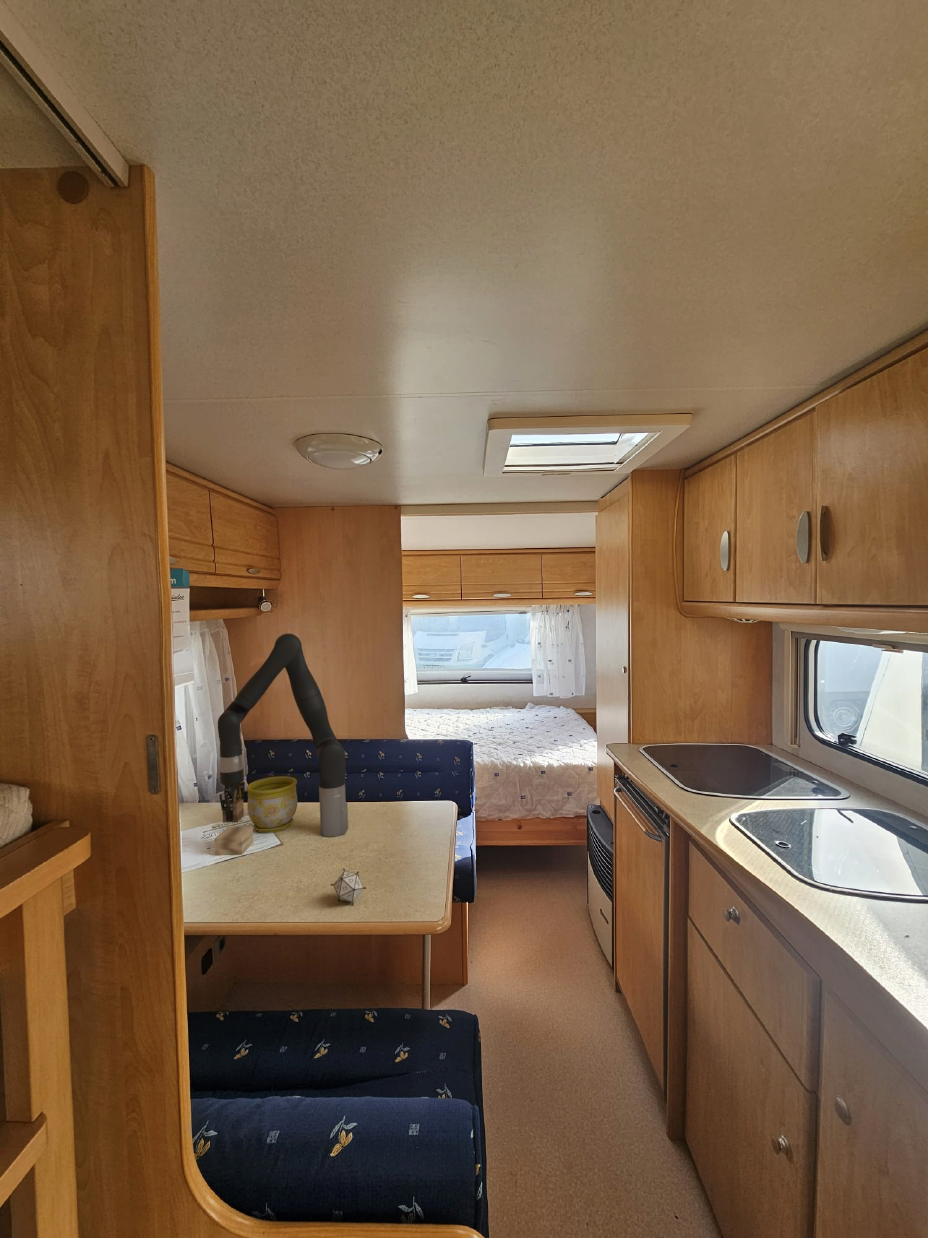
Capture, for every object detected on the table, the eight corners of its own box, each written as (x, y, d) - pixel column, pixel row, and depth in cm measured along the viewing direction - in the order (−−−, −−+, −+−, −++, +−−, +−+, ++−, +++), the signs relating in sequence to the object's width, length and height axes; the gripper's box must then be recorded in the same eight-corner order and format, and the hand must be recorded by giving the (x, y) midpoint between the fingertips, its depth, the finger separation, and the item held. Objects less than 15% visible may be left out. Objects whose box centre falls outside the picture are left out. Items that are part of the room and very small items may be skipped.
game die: (344, 912, 144) (334, 875, 149) (372, 899, 145) (362, 862, 150) (332, 912, 136) (323, 873, 141) (363, 898, 137) (352, 860, 142)
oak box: (253, 843, 183) (252, 826, 183) (242, 855, 174) (241, 837, 174) (228, 844, 184) (227, 827, 183) (215, 856, 174) (214, 838, 174)
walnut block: (243, 816, 181) (243, 799, 181) (237, 822, 176) (236, 804, 176) (229, 817, 181) (229, 799, 181) (222, 822, 176) (222, 805, 176)
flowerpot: (280, 814, 210) (278, 773, 210) (308, 823, 200) (306, 780, 200) (238, 830, 196) (236, 786, 196) (266, 840, 185) (264, 794, 185)
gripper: (232, 774, 172) (234, 826, 172) (251, 762, 186) (253, 809, 186) (210, 775, 172) (212, 826, 172) (230, 762, 186) (232, 810, 186)
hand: (233, 817), depth 179 cm, fingers closed on walnut block, 5 cm apart
